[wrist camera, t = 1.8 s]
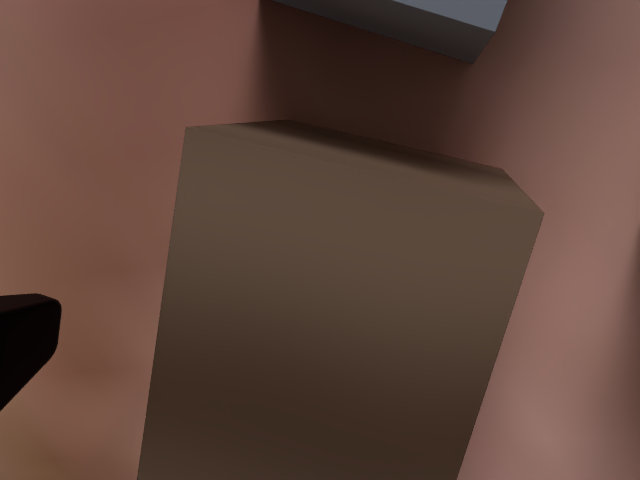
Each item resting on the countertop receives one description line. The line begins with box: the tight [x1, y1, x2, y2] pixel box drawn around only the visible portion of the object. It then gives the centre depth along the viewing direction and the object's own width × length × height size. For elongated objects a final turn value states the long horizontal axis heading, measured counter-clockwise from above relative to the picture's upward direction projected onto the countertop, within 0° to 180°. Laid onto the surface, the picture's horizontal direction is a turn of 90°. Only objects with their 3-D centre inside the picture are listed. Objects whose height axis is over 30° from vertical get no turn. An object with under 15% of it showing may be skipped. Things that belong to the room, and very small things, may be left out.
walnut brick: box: [137, 120, 544, 480], centre depth 10 cm, size 8×4×5 cm, turn 167°
